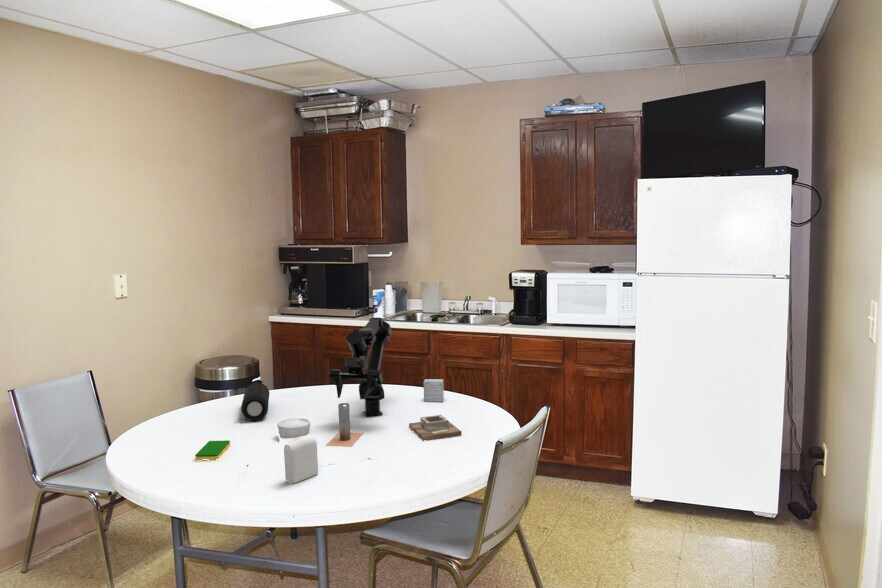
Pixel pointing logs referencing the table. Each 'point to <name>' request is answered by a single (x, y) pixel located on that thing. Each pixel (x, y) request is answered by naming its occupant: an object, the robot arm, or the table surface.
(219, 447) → the dish sponge
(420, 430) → the board
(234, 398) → the table surface
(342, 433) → the steel peg
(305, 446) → the photo printer
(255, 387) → the portable speaker
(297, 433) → the ramekin
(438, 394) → the medicine box
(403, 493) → the table surface
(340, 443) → the peach flat block
